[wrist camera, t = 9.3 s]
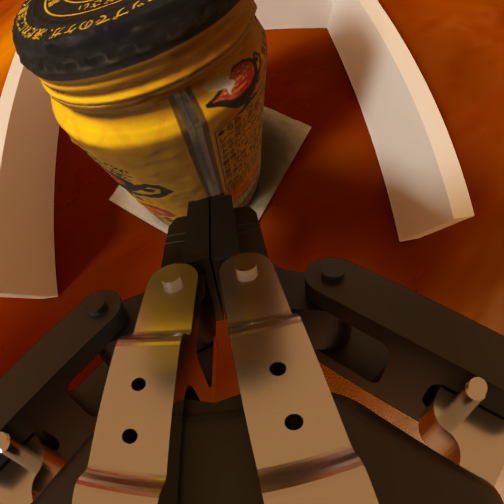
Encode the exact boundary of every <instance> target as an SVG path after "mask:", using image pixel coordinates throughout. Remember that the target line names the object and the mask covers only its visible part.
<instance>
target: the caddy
mask: <svg viewBox="0 0 504 504" xmlns="http://www.w3.org/2000/svg"><path fill="white" fill-rule="evenodd" d="M254 2H255V3H256V5H257V10H256V13H255V16H256V17H257V19H258V20H259V21H260V24H261V25H262V26H263V28H264V30H270V29H289V28H327V30H328V32H329V34H330V36H331V38H332V40H333V42H334V45H335V47H336V49H337V51H338V53H339V56H340V58H341V60H342V63H343V65H344V67H345V70H346V72H347V74H348V77H349V79H350V82H351V84H352V87H353V89H354V92H355V94H356V97H357V99H358V102H359V105H360V107H361V110H362V113H363V116H364V119H365V121H366V124H367V127H368V130H369V133H370V136H371V139H372V142H373V145H374V148H375V151H376V155H377V158H378V161H379V164H380V168H381V171H382V175H383V178H384V182H385V185H386V189H387V193H388V196H389V200H390V204H391V208H392V212H393V216H394V220H395V225H396V229H397V233H398V238H399V242H402V241H407V240H413V239H418V238H421V237H423V236H426V235H428V234H431V233H433V232H436V231H438V230H441V229H443V228H446V227H448V226H451V225H453V224H456V223H458V222H460V221H463V220H465V219H468V218H470V217H472V216H475V215H474V211H473V207H472V204H471V200H470V196H469V193H468V189H467V186H466V183H465V180H464V176H463V173H462V170H461V167H460V164H459V161H458V158H457V155H456V153H455V150H454V147H453V144H452V142H451V139H450V136H449V134H448V131H447V129H446V126H445V124H444V121H443V119H442V117H441V114H440V112H439V110H438V107H437V105H436V103H435V101H434V99H433V96H432V94H431V92H430V90H429V88H428V86H427V84H426V82H425V80H424V78H423V76H422V74H421V72H420V70H419V68H418V66H417V64H416V62H415V61H414V59H413V57H412V55H411V53H410V52H409V50H408V48H407V46H406V45H405V43H404V41H403V39H402V38H401V36H400V34H399V33H398V31H397V30H396V28H395V26H394V25H393V23H392V22H391V20H390V18H389V17H388V15H387V14H386V12H385V11H384V9H383V8H382V6H381V5H380V4H379V2H378V1H377V0H254ZM59 126H60V125H59V123H58V122H57V120H56V118H55V115H54V112H53V110H52V103H51V98H50V95H49V94H47V92H46V91H45V90H44V88H43V86H42V83H41V81H40V79H39V78H38V77H37V76H36V75H35V74H33V73H32V72H31V71H30V70H28V69H27V68H26V67H25V66H24V65H22V64H21V63H20V58H19V55H18V54H17V51H16V53H15V55H14V58H13V61H12V64H11V67H10V69H9V72H8V75H7V78H6V82H5V85H4V88H3V91H2V95H1V98H0V297H12V298H32V299H45V298H52V297H58V292H57V281H56V268H55V249H54V185H55V167H56V154H57V143H58V134H59Z"/></svg>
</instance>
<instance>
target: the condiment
mask: <svg viewBox="0 0 504 504" xmlns="http://www.w3.org/2000/svg"><path fill="white" fill-rule="evenodd" d="M256 10H257V5H256V3H255V2H254V0H25V2H24V4H23V5H22V8H21V9H20V10H19V12H18V14H17V16H16V18H15V19H14V25H13V30H12V32H13V42H14V44H15V47H16V51H17V54H18V55H19V58H20V63H21V64H22V65H24V66H25V67H26V68H27V69H28V70H30V71H31V72H32V73H33V74H35V75H36V76H37V77H38V78H39V79H40V81H41V83H42V86H43V88H44V90H45V91H46V92H47V94H49V95H50V98H51V103H52V110H53V112H54V115H55V118H56V120H57V122H58V123H59V125H60V126H61V128H63V129H64V130H65V131H66V132H67V133H68V134H69V136H70V139H71V141H72V142H73V143H74V144H76V145H78V146H79V147H81V148H82V149H83V150H84V151H85V152H86V153H87V154H88V155H89V156H90V157H91V158H92V159H93V160H94V161H96V162H97V163H98V164H99V165H100V166H101V167H102V168H103V169H104V170H105V171H106V172H107V173H109V174H110V176H111V177H112V179H113V180H115V181H116V182H117V183H118V184H119V186H118V187H117V189H116V190H115V192H114V193H113V195H112V196H111V197H110V198H109V200H110V201H112V202H113V203H115V204H117V205H118V206H120V207H122V208H123V209H125V210H126V211H128V212H130V213H132V214H134V215H135V216H137V217H139V218H140V219H142V220H144V221H146V222H147V223H149V224H151V225H152V226H154V227H156V228H158V229H159V230H161V231H163V232H165V233H166V234H167V233H168V228H169V226H170V224H171V223H172V222H173V221H174V220H175V218H177V217H183V216H187V211H188V203H189V202H190V201H197V200H201V199H207V198H209V199H210V202H211V198H213V197H219V196H225V195H232V202H233V208H238V207H244V206H249V207H251V208H252V209H253V210H254V211H255V212H256V213H257V216H258V220H259V219H260V217H261V215H262V214H263V212H264V210H265V208H266V206H267V205H268V203H269V201H270V199H271V198H272V196H273V194H274V192H275V191H276V189H277V187H278V185H279V183H280V181H281V180H282V178H283V176H284V174H285V173H286V171H287V169H288V168H289V166H290V164H291V162H292V161H293V159H294V157H295V156H296V154H297V152H298V150H299V148H300V147H301V145H302V143H303V141H304V139H305V138H306V136H307V134H308V133H309V131H310V129H311V126H309V125H307V124H304V123H303V122H300V121H298V120H294V119H292V118H290V117H288V116H286V115H283V114H281V113H279V112H277V111H275V110H272V109H270V108H267V107H264V94H265V91H266V90H265V83H266V71H267V70H266V67H267V42H266V35H265V30H264V28H263V26H262V25H261V24H260V21H259V20H258V19H257V17H256V16H255V13H256Z"/></svg>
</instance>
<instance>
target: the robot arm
mask: <svg viewBox="0 0 504 504" xmlns="http://www.w3.org/2000/svg"><path fill="white" fill-rule="evenodd" d="M223 309H224V313H225V317H226V319H227V320H228V325H229V328H228V331H229V337H230V342H231V347H232V352H233V358H234V363H235V368H236V373H237V378H238V383H239V388H240V393H241V394H239V395H236V396H234V397H231V398H228V399H225V400H222V401H219V402H217V401H216V365H217V338H216V321H219V320H224V313H223ZM97 354H99V355H100V357H101V358H102V359H103V362H102V363H101V364H100V365H99V366H98V367H97V368H96V369H95V370H94V371H93V372H92V373H91V374H90V375H89V376H88V377H87V378H86V379H85V380H84V381H83V382H82V383H81V384H80V385H79V386H78V387H77V388H76V389H74V390H72V391H68V385H69V383H70V382H71V380H72V379H73V378H74V377H75V376H76V375H77V374H78V373H79V372H80V371H81V370H82V369H83V368H84V367H85V366H86V365H87V364H88V363H89V362H90V361H91V360H92V359H93V358H94V357H95V356H96V355H97ZM318 361H319V362H320V363H322V364H324V365H325V366H327V367H328V368H330V369H331V370H333V371H335V372H336V373H338V374H339V375H341V376H343V377H344V378H346V379H347V380H349V381H351V382H352V383H354V384H356V385H357V386H359V387H361V388H362V389H364V390H365V391H367V392H369V393H370V394H372V395H374V396H375V397H377V398H379V399H380V400H382V401H384V402H386V403H387V404H389V405H391V406H392V407H394V408H396V409H398V410H399V411H401V412H403V413H404V414H406V415H408V416H410V417H411V418H413V419H415V420H417V421H418V422H419V432H420V436H421V438H422V440H423V441H424V443H425V444H426V445H427V446H426V445H424V444H423V443H421V442H419V441H418V440H416V439H415V438H413V437H411V436H410V435H408V434H407V433H405V432H403V431H402V430H400V429H399V428H397V427H396V426H394V425H392V424H391V423H389V422H388V421H386V420H385V419H383V418H382V417H380V416H378V415H377V414H375V413H374V412H372V411H371V410H369V409H368V408H366V407H365V406H363V405H362V404H360V403H358V402H356V401H354V400H352V399H350V398H348V397H345V396H343V395H340V394H336V393H332V392H330V390H329V387H328V385H327V382H326V379H325V377H324V374H323V372H322V369H321V367H320V364H319V362H318ZM428 446H429V447H430V448H429V447H428ZM431 448H432V449H431ZM503 465H504V336H502V335H501V334H499V333H497V332H495V331H493V330H491V329H489V328H487V327H485V326H483V325H481V324H479V323H477V322H475V321H473V320H471V319H469V318H467V317H465V316H463V315H461V314H459V313H457V312H455V311H453V310H451V309H449V308H447V307H445V306H443V305H441V304H439V303H437V302H434V301H432V300H430V299H428V298H426V297H424V296H422V295H420V294H418V293H416V292H414V291H412V290H410V289H407V288H405V287H403V286H401V285H399V284H397V283H395V282H393V281H391V280H388V279H386V278H384V277H382V276H380V275H378V274H376V273H373V272H371V271H369V270H367V269H365V268H363V267H360V266H358V265H356V264H354V263H352V262H350V261H347V260H345V259H341V258H335V257H328V258H322V259H319V260H316V261H314V262H313V263H311V264H310V265H309V266H308V267H307V269H306V271H305V272H293V271H287V270H283V269H280V268H278V267H276V266H275V265H274V264H272V262H271V260H270V259H269V258H268V255H267V251H266V247H265V243H264V240H263V236H262V232H261V228H260V224H259V220H258V216H257V213H256V212H255V211H254V210H253V209H252V208H251V207H249V206H244V207H238V208H233V202H232V195H225V196H219V197H213V198H211V202H210V199H209V198H207V199H201V200H197V201H190V202H189V203H188V211H187V216H183V217H177V218H175V220H174V221H173V222H172V223H171V224H170V226H169V228H168V233H167V238H166V245H165V249H164V255H163V260H162V266H161V269H159V270H157V271H156V272H155V273H154V274H153V275H152V276H151V277H150V279H149V281H148V283H147V287H146V290H145V292H143V293H141V294H139V295H137V296H134V297H132V298H129V299H126V300H124V301H121V299H120V297H119V295H118V294H117V293H115V292H113V291H107V290H105V291H99V292H96V293H94V294H92V295H90V296H88V297H87V298H86V299H84V300H83V301H82V302H81V303H80V304H79V305H77V306H76V307H75V308H74V309H73V310H72V311H71V312H70V313H68V314H67V315H66V316H65V317H64V318H63V319H62V320H61V321H60V322H58V323H57V324H56V325H55V326H54V327H53V328H52V329H51V330H50V331H49V332H48V333H46V334H45V335H44V336H43V337H42V338H41V339H40V340H39V341H38V342H37V343H36V344H35V345H34V346H33V347H32V348H31V349H30V350H28V351H27V352H26V353H25V354H24V355H23V356H22V357H21V358H20V359H19V360H18V361H17V362H16V363H15V364H14V365H13V366H12V367H11V368H10V369H9V370H8V371H7V372H6V373H5V374H4V375H3V376H2V377H1V378H0V504H504V503H503V501H502V498H501V496H500V494H499V493H498V492H497V490H496V489H495V488H494V485H495V483H496V481H497V479H498V477H499V475H500V472H501V470H502V468H503Z"/></svg>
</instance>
